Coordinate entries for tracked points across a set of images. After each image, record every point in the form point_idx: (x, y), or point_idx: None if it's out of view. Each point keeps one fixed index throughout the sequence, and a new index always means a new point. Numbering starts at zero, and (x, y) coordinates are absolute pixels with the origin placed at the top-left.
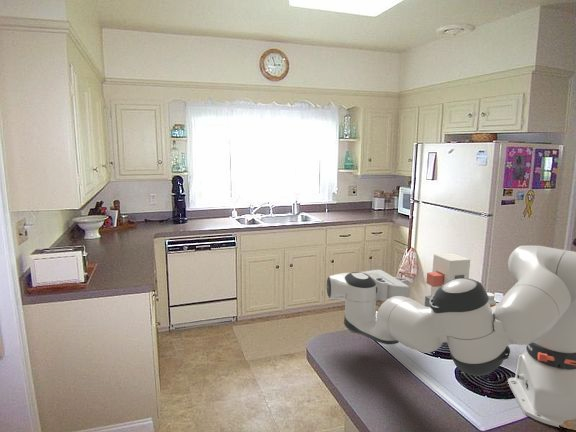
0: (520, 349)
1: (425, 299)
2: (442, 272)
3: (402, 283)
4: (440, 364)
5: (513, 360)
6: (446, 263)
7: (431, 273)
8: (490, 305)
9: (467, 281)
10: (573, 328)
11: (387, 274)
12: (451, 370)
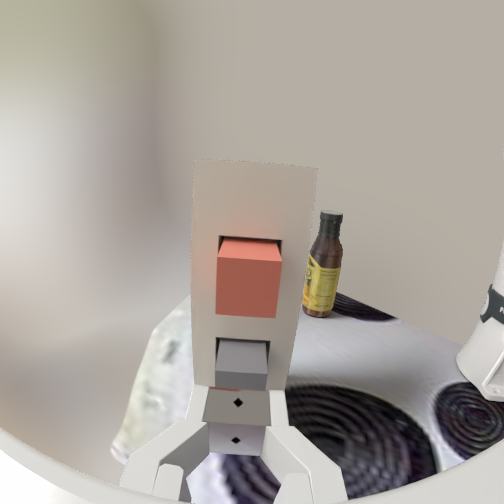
0: (370, 342)
1: (217, 381)
2: (266, 233)
3: (502, 468)
4: None
5: (413, 367)
6: (294, 184)
7: (237, 253)
8: None
9: None
10: None
11: (53, 494)
12: None
